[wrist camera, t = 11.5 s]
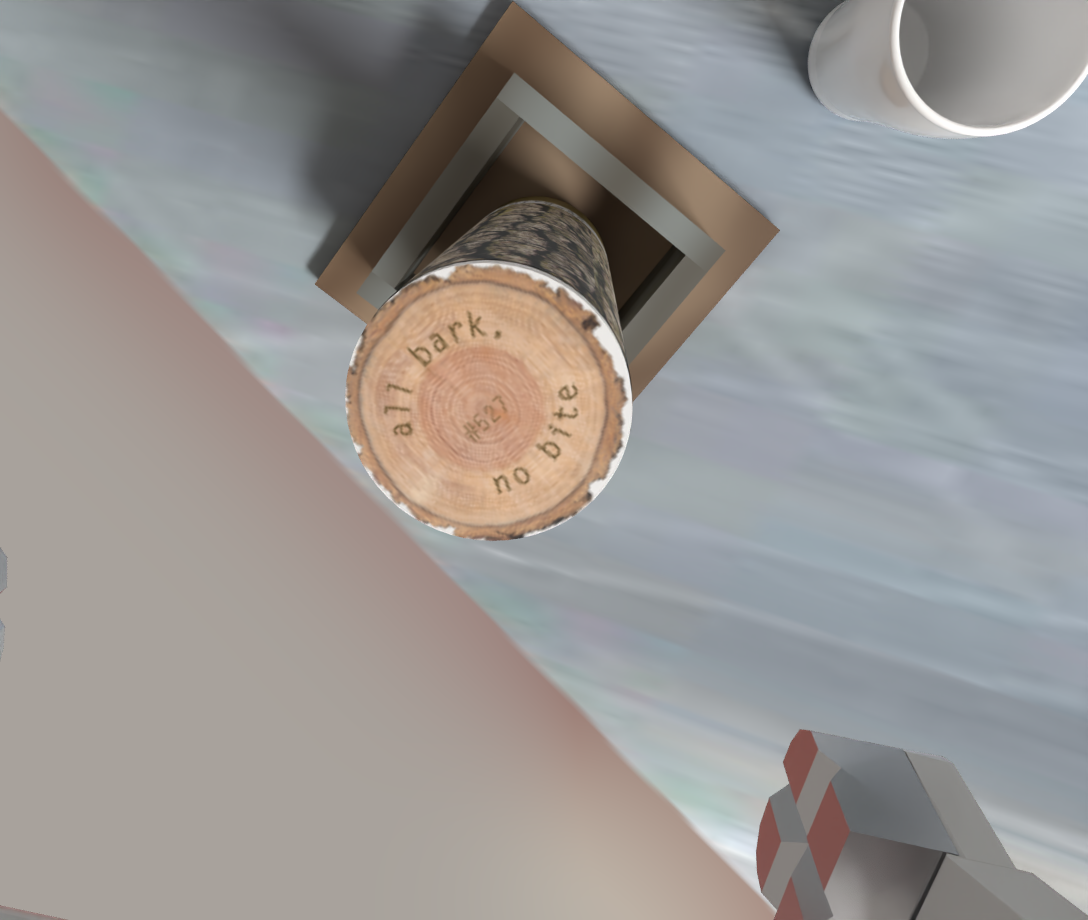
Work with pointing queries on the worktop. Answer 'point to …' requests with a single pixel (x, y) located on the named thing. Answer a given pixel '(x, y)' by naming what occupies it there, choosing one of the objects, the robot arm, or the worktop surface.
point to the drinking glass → (949, 63)
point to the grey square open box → (558, 192)
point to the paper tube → (497, 378)
